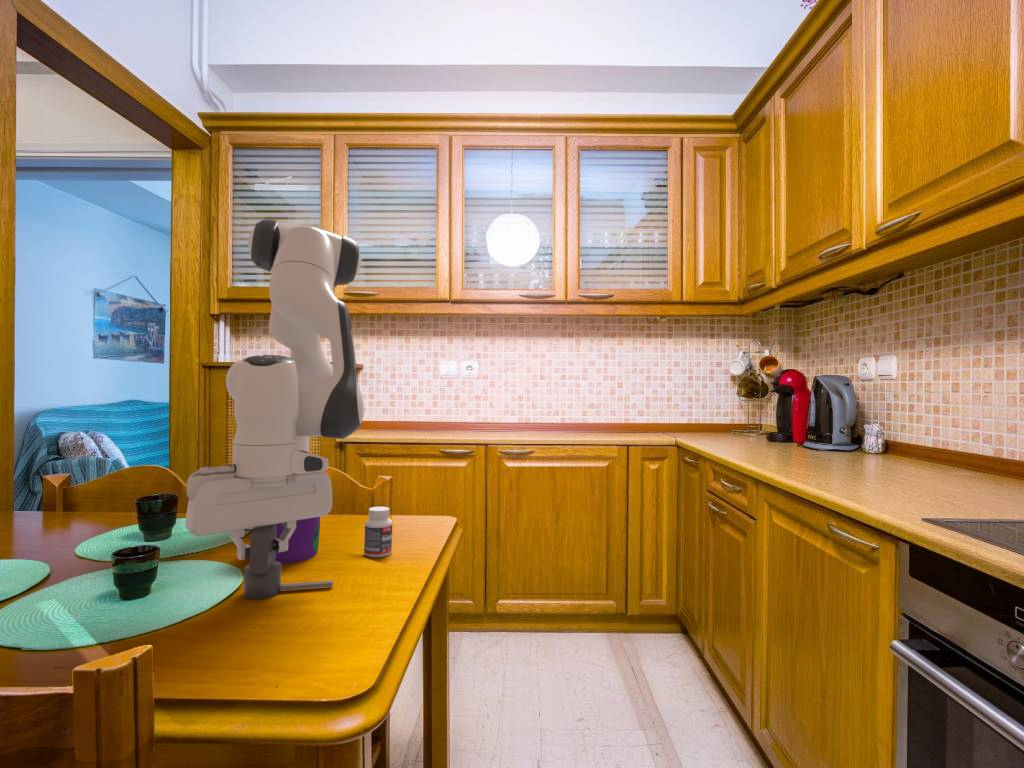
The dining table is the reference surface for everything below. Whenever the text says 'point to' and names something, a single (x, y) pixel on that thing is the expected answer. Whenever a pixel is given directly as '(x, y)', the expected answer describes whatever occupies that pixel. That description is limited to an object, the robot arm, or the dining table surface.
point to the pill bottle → (378, 533)
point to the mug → (300, 541)
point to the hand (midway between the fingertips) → (263, 554)
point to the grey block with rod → (268, 567)
